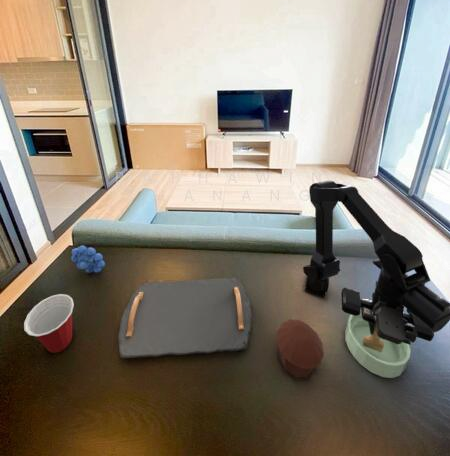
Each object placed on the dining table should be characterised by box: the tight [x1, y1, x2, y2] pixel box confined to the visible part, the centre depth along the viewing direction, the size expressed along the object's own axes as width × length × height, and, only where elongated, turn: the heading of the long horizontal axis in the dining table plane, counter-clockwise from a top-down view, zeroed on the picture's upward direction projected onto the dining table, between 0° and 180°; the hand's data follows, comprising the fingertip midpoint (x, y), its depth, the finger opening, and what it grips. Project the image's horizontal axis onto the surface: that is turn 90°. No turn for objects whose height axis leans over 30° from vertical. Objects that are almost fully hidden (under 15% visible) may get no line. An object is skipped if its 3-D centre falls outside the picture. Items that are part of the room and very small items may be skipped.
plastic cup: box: [23, 293, 75, 354], centre depth 66 cm, size 11×11×12 cm
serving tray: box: [117, 277, 253, 359], centre depth 73 cm, size 39×23×6 cm, turn 94°
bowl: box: [344, 312, 411, 379], centre depth 66 cm, size 14×14×6 cm
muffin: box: [276, 318, 325, 379], centre depth 63 cm, size 12×11×10 cm
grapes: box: [70, 245, 106, 274], centre depth 88 cm, size 12×7×12 cm, turn 88°
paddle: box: [363, 324, 384, 352], centre depth 63 cm, size 4×2×11 cm, turn 67°
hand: (375, 334), depth 63 cm, fingers closed on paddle, 2 cm apart
